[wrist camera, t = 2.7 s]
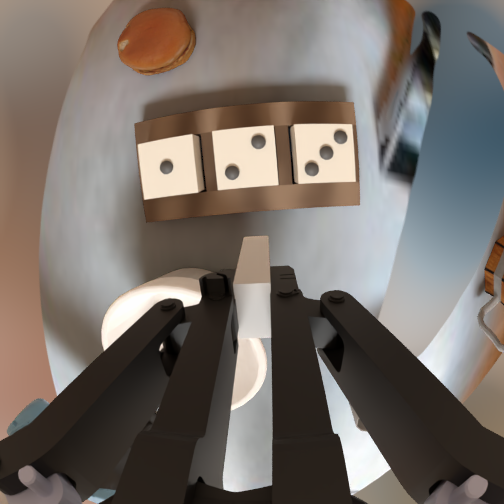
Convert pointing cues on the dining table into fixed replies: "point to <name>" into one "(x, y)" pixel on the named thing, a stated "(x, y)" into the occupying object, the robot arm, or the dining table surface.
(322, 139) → the tile three
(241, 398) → the bowl
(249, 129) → the tile two
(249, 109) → the board
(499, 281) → the mug
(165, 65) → the burger
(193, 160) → the tile one
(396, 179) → the dining table surface
